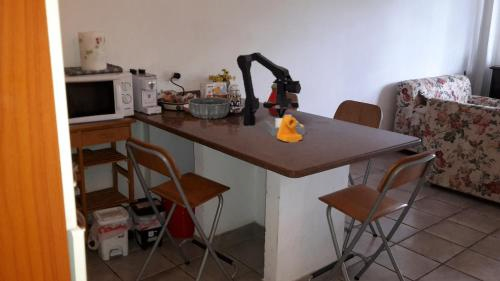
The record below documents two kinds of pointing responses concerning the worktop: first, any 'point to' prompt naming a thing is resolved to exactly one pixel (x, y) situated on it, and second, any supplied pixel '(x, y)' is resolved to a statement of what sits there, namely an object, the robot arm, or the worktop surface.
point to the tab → (278, 122)
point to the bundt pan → (209, 107)
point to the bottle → (273, 100)
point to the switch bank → (274, 130)
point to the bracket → (288, 130)
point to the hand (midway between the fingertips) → (280, 120)
